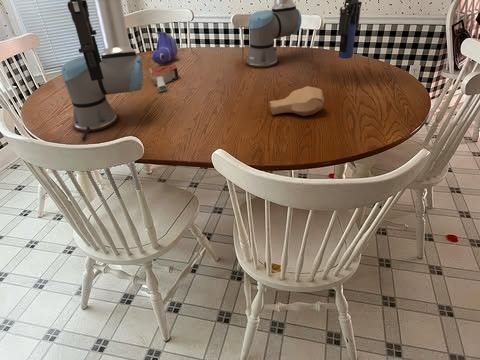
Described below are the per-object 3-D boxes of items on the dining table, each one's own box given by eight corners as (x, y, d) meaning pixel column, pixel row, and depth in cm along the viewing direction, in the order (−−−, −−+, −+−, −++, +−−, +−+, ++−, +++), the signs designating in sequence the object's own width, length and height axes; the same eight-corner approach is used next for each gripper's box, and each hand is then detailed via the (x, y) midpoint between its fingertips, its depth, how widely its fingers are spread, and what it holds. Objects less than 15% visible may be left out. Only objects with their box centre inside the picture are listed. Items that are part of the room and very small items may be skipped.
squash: (328, 116, 127) (328, 95, 121) (272, 126, 129) (270, 106, 123) (321, 99, 135) (321, 79, 128) (269, 109, 137) (266, 89, 130)
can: (343, 53, 151) (346, 22, 144) (354, 55, 148) (358, 24, 141) (336, 57, 148) (339, 25, 141) (348, 59, 145) (351, 27, 138)
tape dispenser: (162, 96, 154) (191, 78, 166) (160, 85, 150) (189, 67, 163) (133, 88, 161) (162, 71, 174) (130, 77, 158) (160, 60, 170)
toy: (165, 64, 198) (145, 69, 175) (161, 31, 191) (139, 33, 169) (182, 63, 196) (164, 69, 173) (178, 30, 189) (159, 32, 167)
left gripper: (86, -25, 67) (115, 84, 79) (86, -35, 86) (109, 54, 98) (43, -21, 65) (80, 90, 77) (53, -32, 84) (81, 58, 96)
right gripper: (351, -10, 125) (343, 57, 139) (373, -17, 136) (364, 45, 150) (332, -11, 130) (326, 54, 143) (355, -18, 141) (348, 43, 154)
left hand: (97, 70), depth 88 cm, fingers open, 13 cm apart
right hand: (346, 49), depth 146 cm, fingers closed on can, 5 cm apart
